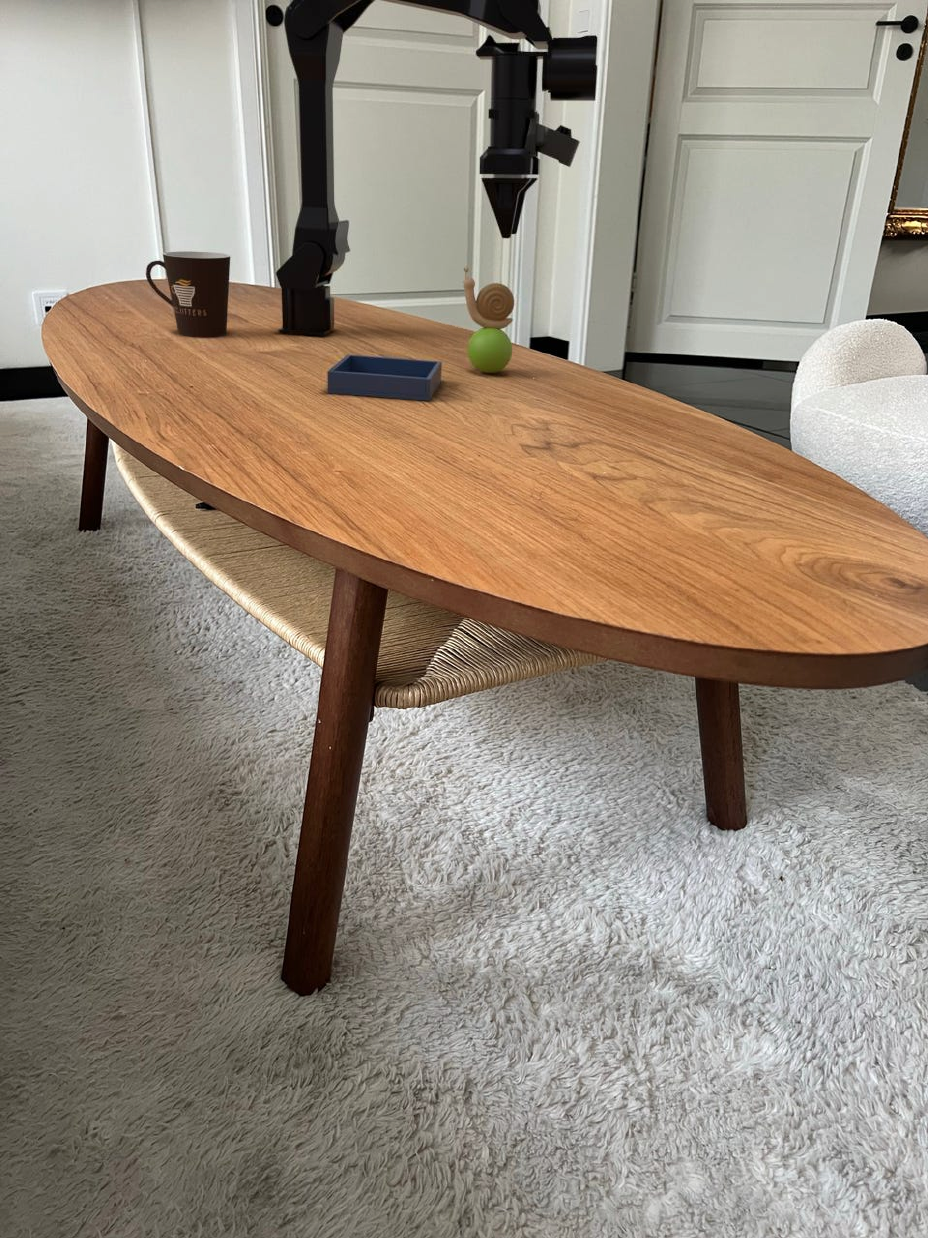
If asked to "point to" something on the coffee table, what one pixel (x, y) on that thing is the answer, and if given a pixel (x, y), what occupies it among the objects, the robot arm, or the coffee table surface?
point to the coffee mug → (196, 291)
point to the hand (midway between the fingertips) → (509, 235)
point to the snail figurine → (489, 325)
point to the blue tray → (385, 377)
